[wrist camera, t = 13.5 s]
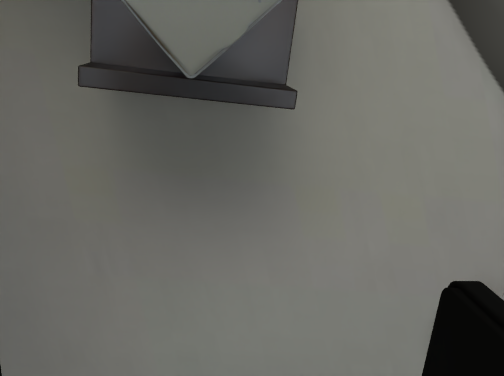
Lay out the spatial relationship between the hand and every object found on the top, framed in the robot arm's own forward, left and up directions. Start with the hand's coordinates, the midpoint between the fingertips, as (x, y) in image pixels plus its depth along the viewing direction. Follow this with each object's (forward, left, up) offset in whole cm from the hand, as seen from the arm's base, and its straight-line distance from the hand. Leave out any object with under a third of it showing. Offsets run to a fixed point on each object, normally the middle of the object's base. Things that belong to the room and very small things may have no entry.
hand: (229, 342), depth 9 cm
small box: (-5, +6, -19) cm, 20 cm away
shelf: (-4, +5, -24) cm, 25 cm away
